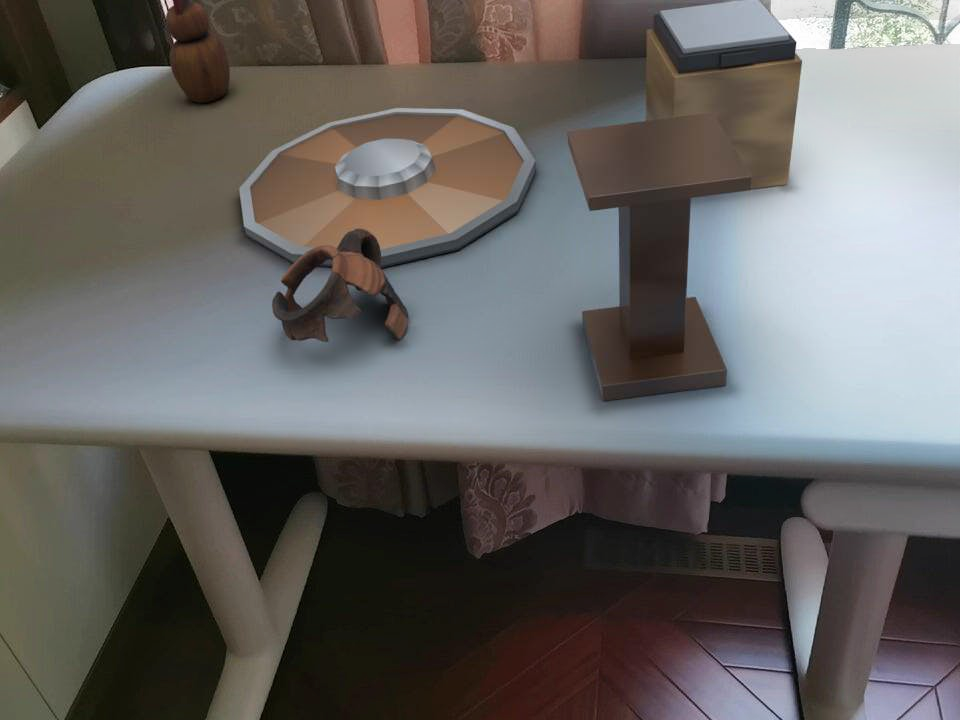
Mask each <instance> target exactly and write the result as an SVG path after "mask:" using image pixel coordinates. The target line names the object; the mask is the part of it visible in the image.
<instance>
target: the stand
mask: <svg viewBox="0 0 960 720" xmlns="http://www.w3.org/2000/svg"><path fill="white" fill-rule="evenodd" d="M566 133H567V134H566V135H567V145H568V149H569V151H570V154H571V158H572V161H573V164H574V167H575V170H576V173H577V177H578V179H579V183H580V186H581V189H582V192H583V195H584V198H585V201H586V204H587V207H588V210H589V212H594V211H601V210H609V209H616V208H617V209H618V274H619V275H618V278H619V279H618V281H619V282H618V283H619V284H618V287H619V288H618V289H619V291H618V292H619V306H614V307H613V306H612V307H604V308H597V309H589V310H588V309H587V310H582V311H581V319H582V320H581V321H582V322H581V323H582V328H583V329H582V330H583V333H584V337H585V341H586V345H587V348H588V351H589V355H590V359H591V363H592V367H593V371H594V375H595V377H596V382H597V386H598V389H599V393H600V396H601V401H602V402H607V401H614V400H622V399H629V398H636V397H644V396H653V395H661V394H669V393H676V392H685V391H692V390H699V389H708V388H715V387H716V388H717V387H722V386H726V385H727V378H728V377H727V376H728V369H727V366H726V364H725V362H724V360H723V357H722V354H721V353H720V350H719V348H718V346H717V343H716V341H715V339H714V336H713V334H712V331H711V329H710V327H709V325H708V322H707V320H706V317H705V315H704V312H703V311H702V308H701V306H700V304H699V302H698V299H697V296H690V297H687V296H688V295H687V293H688V275H689V274H688V273H689V272H688V271H689V249H690V232H691V231H690V229H691V228H690V227H691V207H692V199H694V198H702V197H703V198H704V197H709V196H716V195H726V194H733V193H740V192H747V191H748V192H749V191H751V190H752V189H751V180H752V176H751V175H750V173H749V171H748V170H747V168H746V166H745V165H744V163H743V161H742V160H741V158H740V156H739V155H738V153H737V152H736V150H735V148H734V147H733V145H732V143H731V142H730V140H729V138H728V137H727V135H726V133H725V132H724V130H723V128H722V127H721V125H720V124H719V122H718V120H717V119H716V117H715V115H714V114H713V113H704V114H697V115H689V116H681V117H673V118H666V119H658V120H650V121H646V120H644V121H643V120H642V121H635V122H627V123H619V124H613V125H605V126H597V127H596V126H595V127H589V128H583V129H582V128H580V129H574V130H573V129H572V130H568V131H567V132H566Z"/></svg>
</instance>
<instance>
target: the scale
mask: <svg viewBox="0 0 960 720" xmlns="http://www.w3.org/2000/svg"><path fill="white" fill-rule="evenodd" d="M652 25H653V27H652V29H653V31H654V32H655V34H656V36H657V37H658V39H659V41H660V43H661V44H662V46H663V48H664V49H665V51H666V53H667V54H668V56H669V58H670V60H671V61H672V63H673V65H674V66H675V68H676V70H677V71H678V73H679V74H680V73H688V72H696V71H703V70H711V69H719V68H727V67H734V66H742V65H750V64H757V63H765V62H773V61H781V60H788V59H795V53H796V50H797V49H796V48H797V41H796V40H795V38H794V37H793V36H792V35H791V34H790V32H789V31H788V30H787V29H786V28H785V27H784V26H783V25H782V23H780V21H779V20H778V19H777V18H776V17H775V16H774V15H773V13H772V12H771V11H770V10H769V9H768V7H767V6H766V5H765V4H764V3H763V2H762V1H761V0H732V1H725V2H719V3H709V4H702V5H694V6H687V7H679V8H678V7H677V8H671V9H665V10H659V13H658V14H653V24H652Z"/></svg>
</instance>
